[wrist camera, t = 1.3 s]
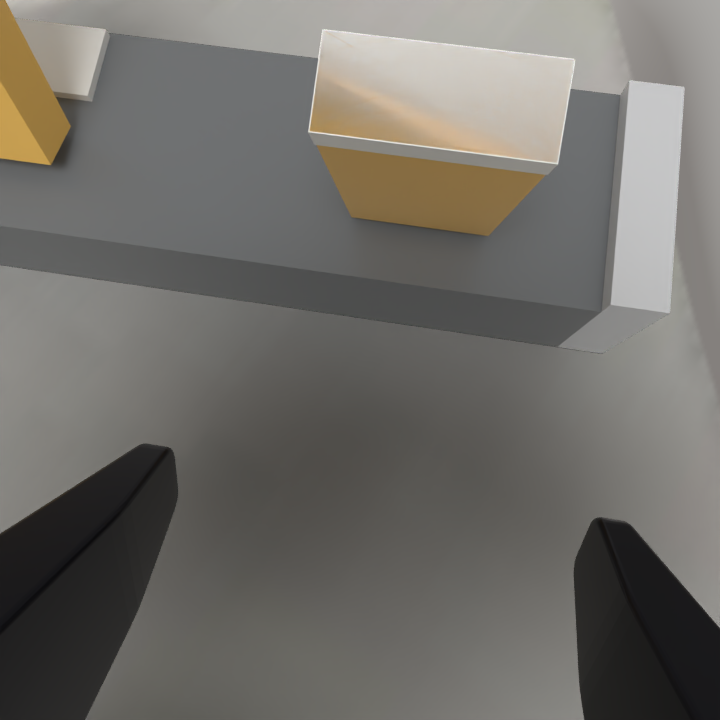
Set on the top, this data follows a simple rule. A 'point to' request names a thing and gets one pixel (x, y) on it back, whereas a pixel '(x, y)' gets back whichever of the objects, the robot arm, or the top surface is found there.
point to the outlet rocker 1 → (26, 100)
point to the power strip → (331, 200)
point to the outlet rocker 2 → (436, 128)
